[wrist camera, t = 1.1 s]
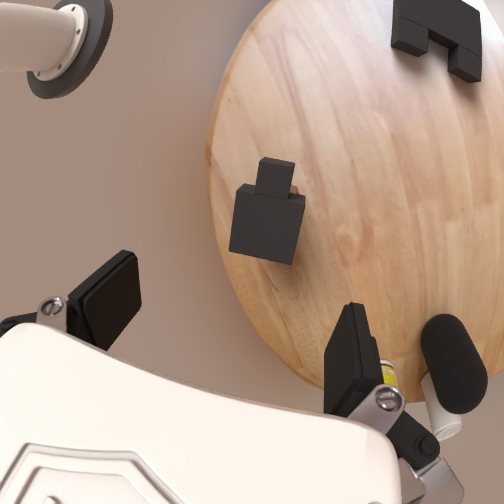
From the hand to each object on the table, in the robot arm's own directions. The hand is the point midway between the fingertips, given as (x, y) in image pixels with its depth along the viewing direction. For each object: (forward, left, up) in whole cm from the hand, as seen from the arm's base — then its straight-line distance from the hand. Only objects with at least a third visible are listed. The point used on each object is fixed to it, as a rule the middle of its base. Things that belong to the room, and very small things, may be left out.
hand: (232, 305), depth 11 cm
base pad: (+13, +24, -18) cm, 33 cm away
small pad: (0, +1, -12) cm, 12 cm away
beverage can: (+32, -22, -18) cm, 43 cm away
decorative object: (+25, -11, -18) cm, 33 cm away
